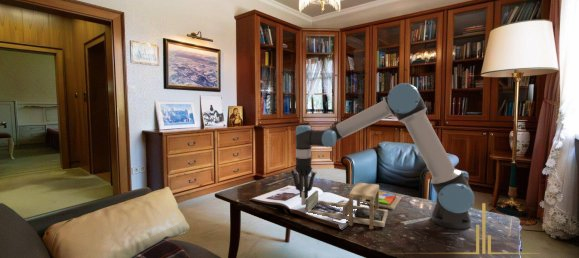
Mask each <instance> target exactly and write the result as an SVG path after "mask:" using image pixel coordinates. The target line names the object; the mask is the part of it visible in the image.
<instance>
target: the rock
mask: <svg viewBox="0 0 579 258" xmlns="http://www.w3.org/2000/svg"><path fill="white" fill-rule="evenodd" d="M354 217H358V218H364V219H370V209H357V210H356V211H355V210H354ZM382 219H383V216H380V214H378V213H376V212H375V211H374V220H377V221H382Z"/></svg>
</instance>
